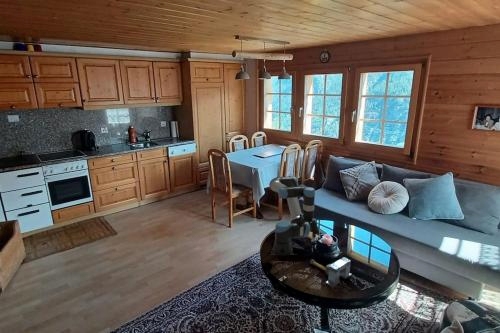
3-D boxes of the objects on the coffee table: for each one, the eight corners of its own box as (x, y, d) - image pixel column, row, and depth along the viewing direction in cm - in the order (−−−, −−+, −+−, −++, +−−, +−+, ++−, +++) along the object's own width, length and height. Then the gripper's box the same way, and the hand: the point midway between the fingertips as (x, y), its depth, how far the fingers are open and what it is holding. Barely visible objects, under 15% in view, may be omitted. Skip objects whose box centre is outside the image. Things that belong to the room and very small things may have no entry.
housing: (325, 283, 184) (326, 266, 181) (344, 271, 196) (345, 255, 193) (332, 287, 180) (334, 271, 177) (351, 275, 192) (352, 259, 189)
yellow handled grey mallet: (309, 264, 204) (310, 256, 203) (313, 262, 207) (313, 254, 205) (331, 277, 190) (332, 269, 188) (335, 275, 192) (336, 267, 191)
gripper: (292, 206, 206) (291, 234, 211) (318, 216, 188) (316, 246, 194) (299, 203, 210) (298, 230, 216) (325, 213, 193) (323, 242, 199)
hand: (307, 238), depth 205 cm, fingers open, 10 cm apart
